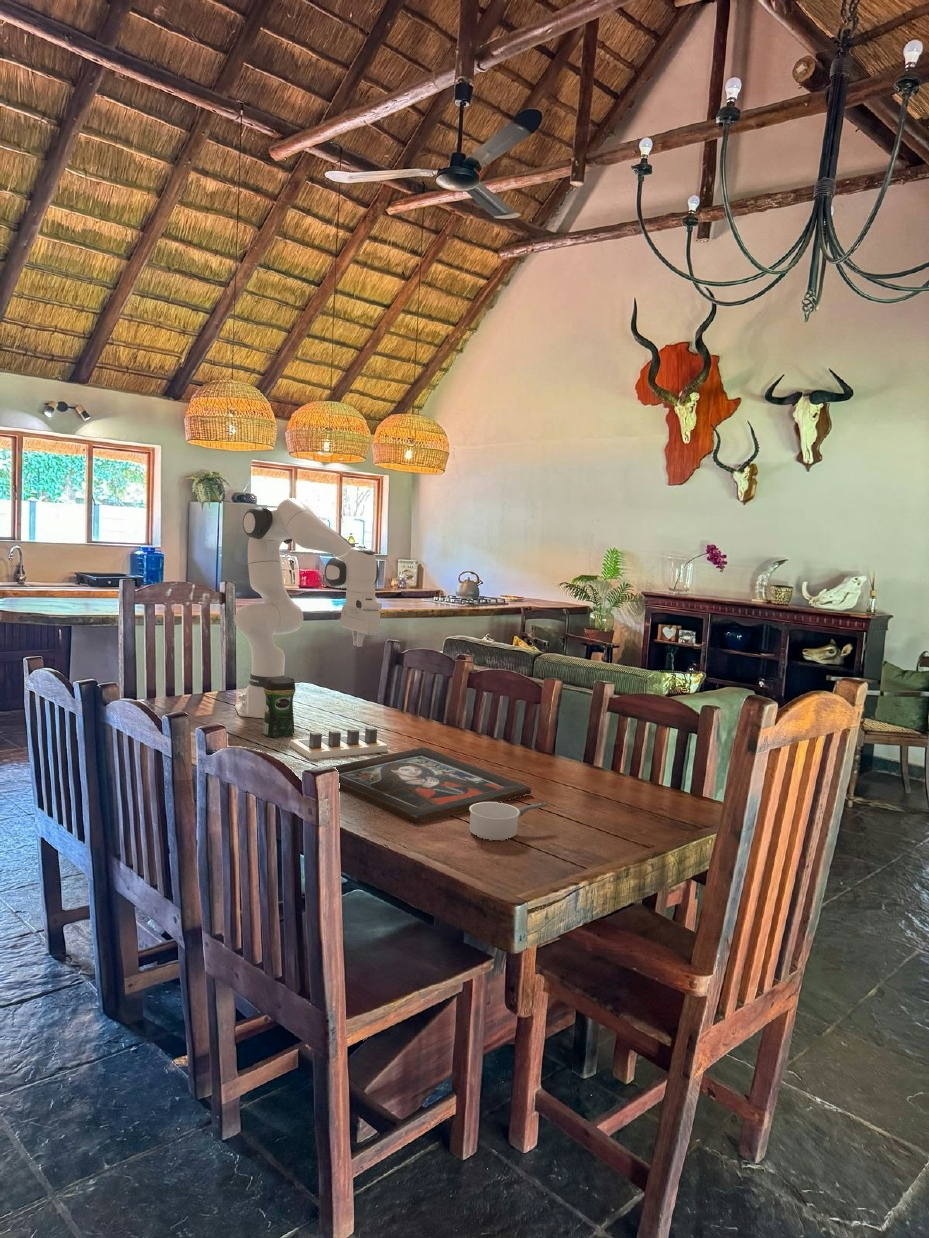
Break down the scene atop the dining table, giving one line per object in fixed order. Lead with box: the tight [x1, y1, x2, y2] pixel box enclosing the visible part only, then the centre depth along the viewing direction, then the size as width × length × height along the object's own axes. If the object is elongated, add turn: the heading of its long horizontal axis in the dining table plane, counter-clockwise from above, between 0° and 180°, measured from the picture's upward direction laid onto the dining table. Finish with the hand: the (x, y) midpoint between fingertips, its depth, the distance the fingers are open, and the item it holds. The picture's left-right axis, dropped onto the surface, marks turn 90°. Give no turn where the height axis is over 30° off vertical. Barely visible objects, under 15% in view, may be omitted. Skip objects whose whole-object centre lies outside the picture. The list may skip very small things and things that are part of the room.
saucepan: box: [469, 801, 548, 841], centre depth 184 cm, size 12×20×6 cm, turn 121°
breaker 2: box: [328, 729, 342, 747], centre depth 240 cm, size 3×2×4 cm
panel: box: [289, 733, 389, 760], centre depth 244 cm, size 15×25×2 cm, turn 123°
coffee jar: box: [262, 676, 296, 738], centre depth 255 cm, size 10×8×19 cm
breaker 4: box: [364, 727, 378, 743], centre depth 246 cm, size 3×2×4 cm
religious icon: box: [330, 747, 532, 825], centre depth 214 cm, size 40×45×3 cm
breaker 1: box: [309, 731, 323, 748], centre depth 236 cm, size 3×2×4 cm
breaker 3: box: [346, 728, 360, 745], centre depth 243 cm, size 3×2×4 cm
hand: (357, 645), depth 249 cm, fingers closed
